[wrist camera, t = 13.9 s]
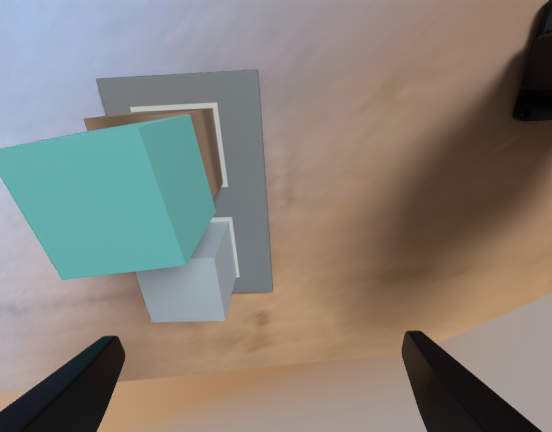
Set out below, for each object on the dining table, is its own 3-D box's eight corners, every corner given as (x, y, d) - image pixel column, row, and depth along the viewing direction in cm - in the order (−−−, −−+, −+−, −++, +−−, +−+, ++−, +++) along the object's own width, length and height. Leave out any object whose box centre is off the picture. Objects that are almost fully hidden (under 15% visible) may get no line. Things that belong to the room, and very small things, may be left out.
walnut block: (212, 107, 17) (187, 113, 12) (223, 183, 19) (205, 211, 15) (135, 111, 17) (83, 118, 13) (154, 186, 19) (115, 214, 15)
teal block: (215, 211, 15) (186, 265, 10) (128, 222, 15) (62, 280, 10) (189, 114, 12) (137, 126, 8) (89, 130, 13) (-15, 151, 8)
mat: (258, 70, 17) (257, 69, 16) (272, 287, 24) (272, 292, 23) (101, 79, 17) (95, 78, 16) (162, 290, 24) (159, 295, 24)
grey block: (236, 274, 22) (225, 320, 18) (177, 276, 23) (151, 322, 18) (229, 220, 20) (214, 257, 16) (164, 223, 21) (131, 260, 16)
